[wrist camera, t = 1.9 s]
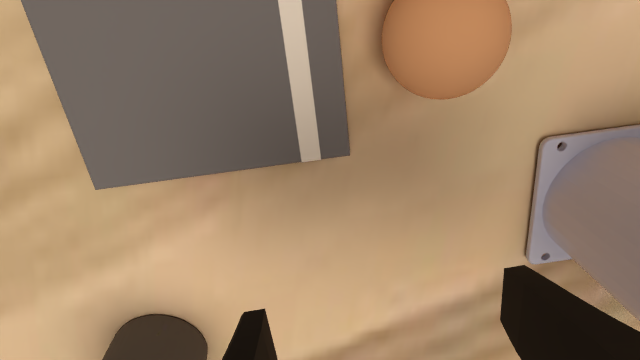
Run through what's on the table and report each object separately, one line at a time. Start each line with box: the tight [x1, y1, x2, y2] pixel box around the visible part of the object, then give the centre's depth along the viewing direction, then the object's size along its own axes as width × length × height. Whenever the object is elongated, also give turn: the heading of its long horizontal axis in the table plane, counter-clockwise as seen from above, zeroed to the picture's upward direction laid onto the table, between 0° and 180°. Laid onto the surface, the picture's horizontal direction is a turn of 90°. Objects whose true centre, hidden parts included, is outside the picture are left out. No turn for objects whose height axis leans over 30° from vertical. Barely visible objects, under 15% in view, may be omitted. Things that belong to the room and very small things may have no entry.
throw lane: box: [21, 0, 350, 190], centre depth 18 cm, size 13×11×1 cm
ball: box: [382, 0, 512, 99], centre depth 17 cm, size 5×5×5 cm
